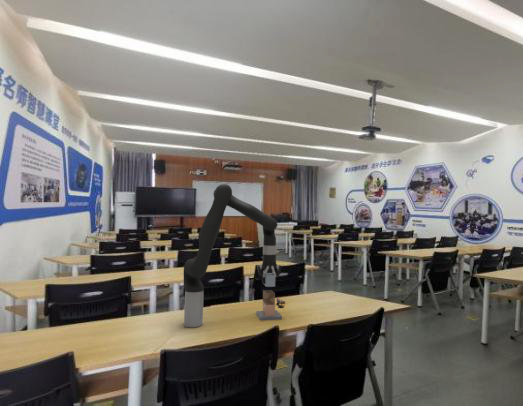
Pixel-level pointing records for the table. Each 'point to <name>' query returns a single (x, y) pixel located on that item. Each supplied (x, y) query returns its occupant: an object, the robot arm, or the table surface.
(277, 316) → the baseplate
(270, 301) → the brick walnut
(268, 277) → the brick slate
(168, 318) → the table surface
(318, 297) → the table surface
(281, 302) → the toy set
